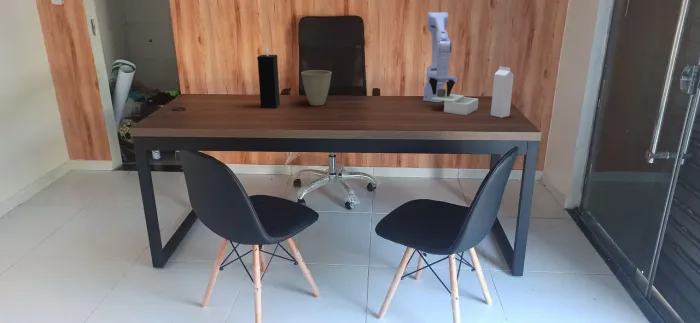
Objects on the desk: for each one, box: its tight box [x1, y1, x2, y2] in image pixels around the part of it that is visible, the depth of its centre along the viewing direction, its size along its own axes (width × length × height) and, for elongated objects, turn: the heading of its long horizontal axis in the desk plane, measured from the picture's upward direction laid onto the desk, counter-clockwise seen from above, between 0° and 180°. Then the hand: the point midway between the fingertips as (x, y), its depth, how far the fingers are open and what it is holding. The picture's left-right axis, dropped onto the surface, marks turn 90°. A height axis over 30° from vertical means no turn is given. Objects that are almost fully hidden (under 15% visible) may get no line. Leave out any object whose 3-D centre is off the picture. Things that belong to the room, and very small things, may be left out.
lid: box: [431, 88, 466, 102], centre depth 235 cm, size 11×14×4 cm
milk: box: [490, 65, 514, 119], centre depth 220 cm, size 6×6×22 cm
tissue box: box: [256, 48, 281, 109], centre depth 239 cm, size 8×8×28 cm
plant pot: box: [301, 69, 332, 106], centre depth 245 cm, size 15×15×16 cm
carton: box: [443, 97, 479, 116], centre depth 232 cm, size 11×14×5 cm
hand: (441, 95), depth 237 cm, fingers open, 7 cm apart
